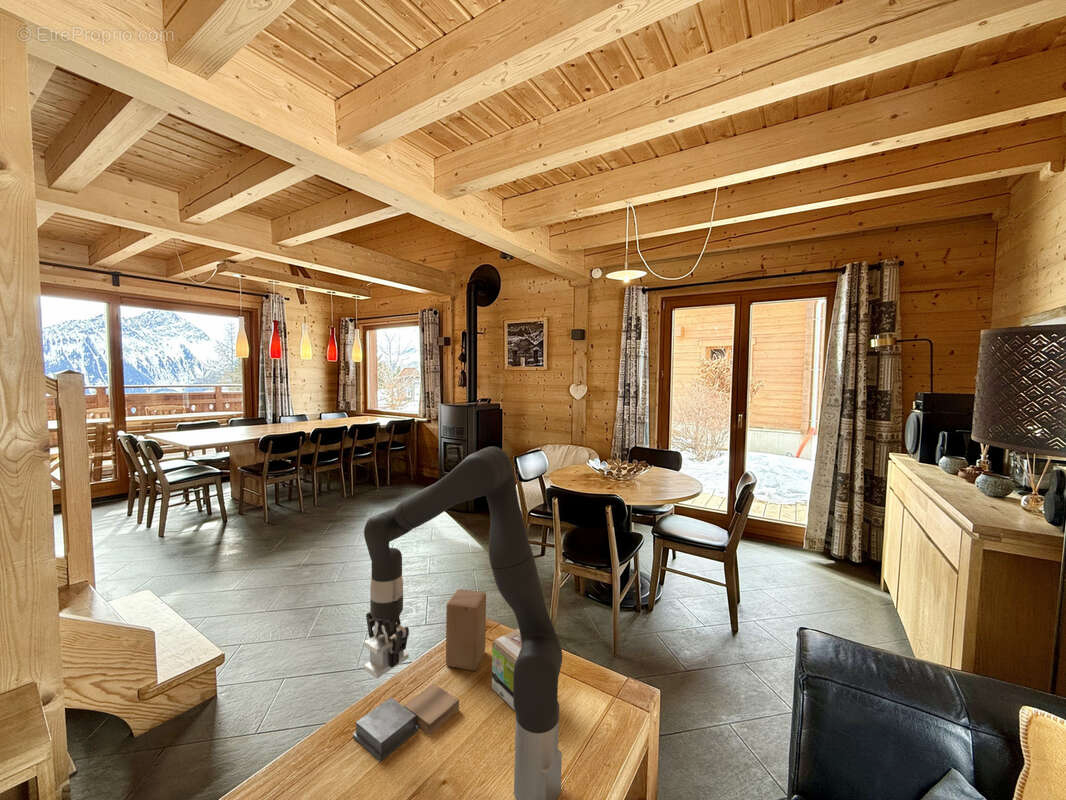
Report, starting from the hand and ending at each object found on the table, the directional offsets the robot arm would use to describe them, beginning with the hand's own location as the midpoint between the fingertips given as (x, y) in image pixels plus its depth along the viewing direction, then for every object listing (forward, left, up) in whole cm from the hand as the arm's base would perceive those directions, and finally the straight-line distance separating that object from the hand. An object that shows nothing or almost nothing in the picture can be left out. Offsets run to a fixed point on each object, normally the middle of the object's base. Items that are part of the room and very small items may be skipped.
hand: (386, 660), depth 105 cm
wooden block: (+4, -32, -19) cm, 37 cm away
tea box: (-19, -30, -19) cm, 40 cm away
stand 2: (-4, -11, -19) cm, 22 cm away
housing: (0, 0, -1) cm, 1 cm away
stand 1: (0, 0, -19) cm, 19 cm away
